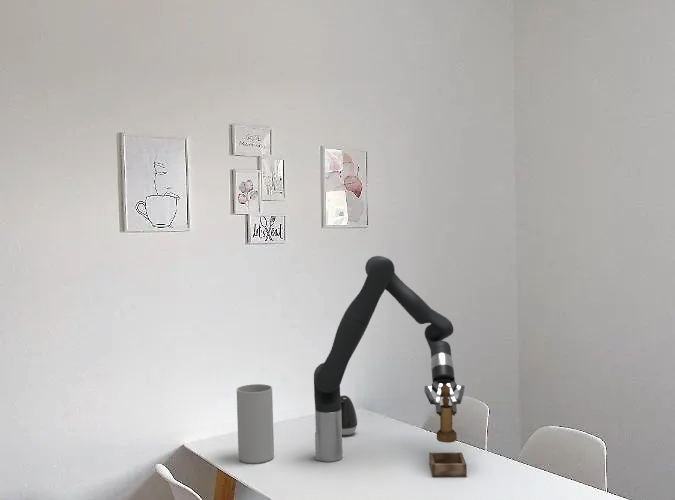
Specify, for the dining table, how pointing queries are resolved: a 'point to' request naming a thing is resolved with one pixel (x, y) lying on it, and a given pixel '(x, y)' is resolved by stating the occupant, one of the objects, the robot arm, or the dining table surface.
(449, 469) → the box
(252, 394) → the cylinder vase
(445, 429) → the brown wooden chess piece
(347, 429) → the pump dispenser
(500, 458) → the dining table surface
